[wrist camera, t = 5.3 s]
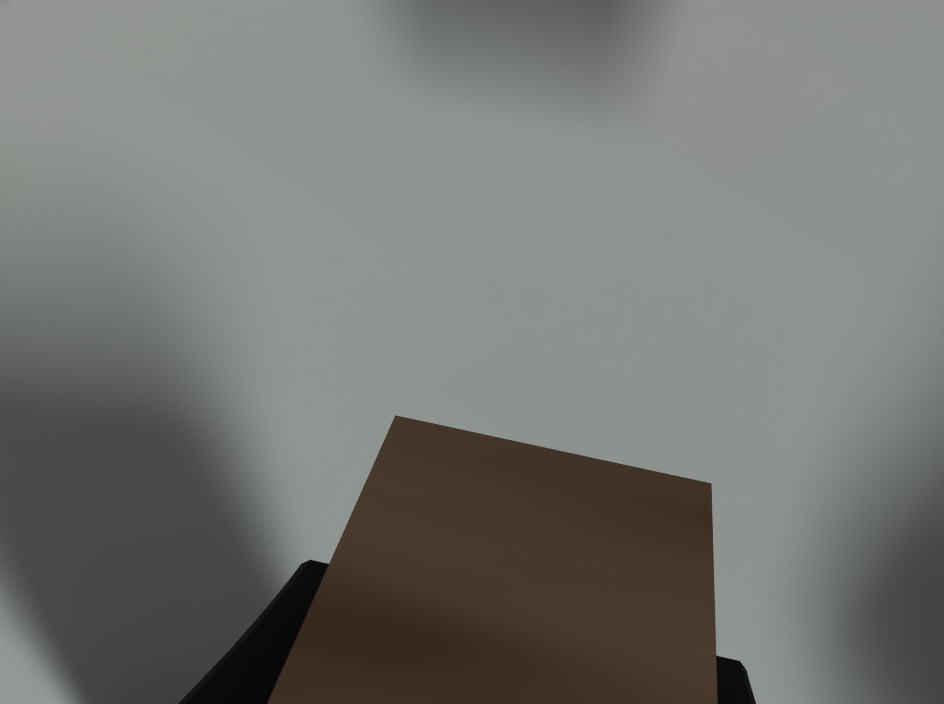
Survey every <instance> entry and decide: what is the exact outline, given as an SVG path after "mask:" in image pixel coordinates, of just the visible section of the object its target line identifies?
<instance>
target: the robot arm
mask: <svg viewBox="0 0 944 704" xmlns="http://www.w3.org/2000/svg"><path fill="white" fill-rule="evenodd" d="M328 566H329V564H326V563H322V562H318V561H313V560H309V561H307V562H304V563H302V564H301V565H300V566H299V568H298V569H297V570H296V572H295V573H294V574H293V576H292V577H291V578H290V579H289V581H288V582H287V583H286V585H285V586H284V587H283V588H282V590H281V591H280V592H279V593H278V594H277V596H276V597H275V598H274V599H273V601H272V602H271V603H270V604H269V605H268V607H267V608H266V609H265V610H264V611H263V613H262V614H261V615H260V616H259V617H258V618H257V620H256V621H255V622H254V623H253V624H252V625H251V626H250V628H249V629H248V630H247V631H246V632H245V633H244V634H243V635H242V637H241V638H240V639H239V640H238V641H237V642H236V643H235V644H234V646H233V647H232V648H231V649H230V650H229V651H228V652H227V653H226V654H225V655H224V656H223V657H222V659H221V660H220V661H219V662H218V663H217V664H216V665H215V666H214V667H213V668H212V669H211V670H210V671H209V672H208V673H207V674H206V675H205V676H204V678H203V679H202V680H201V681H200V682H199V683H198V684H197V685H196V686H195V687H194V688H193V689H192V690H191V691H190V692H189V693H188V694H187V696H186V697H185V698H184V699H183V700H182V701H181V702H180V703H179V704H267V703H268V700H269V698H270V696H271V694H272V691H273V689H274V687H275V685H276V683H277V680H278V678H279V676H280V674H281V671H282V669H283V667H284V665H285V662H286V660H287V658H288V656H289V653H290V651H291V649H292V647H293V644H294V642H295V640H296V638H297V635H298V633H299V631H300V629H301V626H302V624H303V622H304V620H305V617H306V615H307V613H308V611H309V608H310V606H311V604H312V602H313V599H314V597H315V595H316V593H317V590H318V588H319V586H320V584H321V581H322V579H323V577H324V575H325V572H326V570H327V568H328ZM716 667H717V702H718V704H756V702H755V699H754V696H753V692H752V689H751V685H750V682H749V678H748V674H747V671H746V669H745V667H744V666H743V665H742V663H741V662H740V661H737V660H733V659H728V658H724V657H720V656H716Z"/></svg>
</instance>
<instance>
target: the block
mask: <svg viewBox="0 0 944 704" xmlns="http://www.w3.org/2000/svg"><path fill="white" fill-rule="evenodd" d="M267 704H718V702H717V667H716V631H715V596H714V560H713V525H712V489H711V483H707V482H702V481H697V480H693V479H688V478H683V477H679V476H674V475H669V474H665V473H660V472H656V471H651V470H646V469H642V468H637V467H632V466H628V465H623V464H618V463H614V462H609V461H604V460H600V459H595V458H591V457H586V456H581V455H577V454H572V453H567V452H563V451H558V450H553V449H549V448H544V447H540V446H535V445H530V444H526V443H521V442H516V441H512V440H507V439H502V438H498V437H493V436H489V435H484V434H479V433H475V432H470V431H465V430H461V429H456V428H451V427H447V426H442V425H438V424H433V423H428V422H424V421H419V420H414V419H410V418H405V417H400V416H396V415H395V418H394V420H393V422H392V424H391V427H390V429H389V431H388V433H387V435H386V438H385V440H384V442H383V444H382V447H381V449H380V451H379V453H378V456H377V458H376V460H375V462H374V465H373V467H372V469H371V471H370V474H369V476H368V478H367V480H366V483H365V485H364V487H363V489H362V492H361V494H360V496H359V498H358V501H357V503H356V505H355V507H354V510H353V512H352V514H351V516H350V519H349V521H348V523H347V525H346V528H345V530H344V532H343V534H342V537H341V539H340V541H339V543H338V546H337V548H336V550H335V552H334V555H333V557H332V559H331V561H330V563H329V566H328V568H327V570H326V572H325V575H324V577H323V579H322V581H321V584H320V586H319V588H318V590H317V593H316V595H315V597H314V599H313V602H312V604H311V606H310V608H309V611H308V613H307V615H306V617H305V620H304V622H303V624H302V626H301V629H300V631H299V633H298V635H297V638H296V640H295V642H294V644H293V647H292V649H291V651H290V653H289V656H288V658H287V660H286V662H285V665H284V667H283V669H282V671H281V674H280V676H279V678H278V680H277V683H276V685H275V687H274V689H273V691H272V694H271V696H270V698H269V700H268V703H267Z"/></svg>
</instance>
